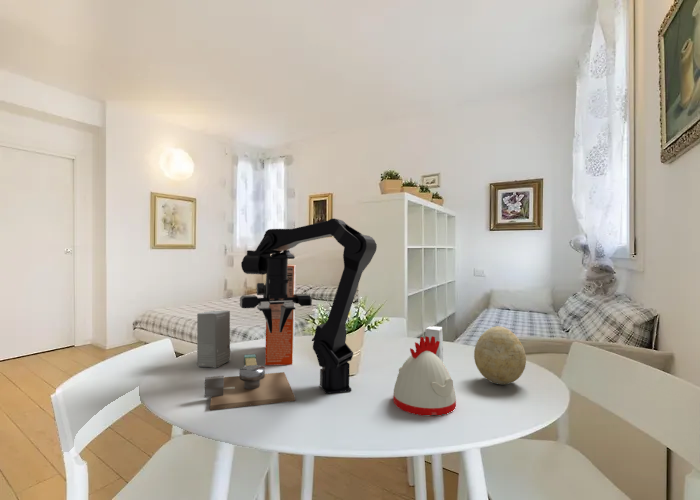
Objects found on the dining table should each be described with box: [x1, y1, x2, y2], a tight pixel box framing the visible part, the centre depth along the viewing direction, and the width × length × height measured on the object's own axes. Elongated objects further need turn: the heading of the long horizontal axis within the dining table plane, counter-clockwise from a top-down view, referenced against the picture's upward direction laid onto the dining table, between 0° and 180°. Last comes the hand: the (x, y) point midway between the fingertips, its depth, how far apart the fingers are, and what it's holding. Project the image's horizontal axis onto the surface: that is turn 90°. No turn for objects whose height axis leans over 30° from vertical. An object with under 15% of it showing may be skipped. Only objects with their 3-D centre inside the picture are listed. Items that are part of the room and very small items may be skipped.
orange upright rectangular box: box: [264, 264, 297, 366], centre depth 120 cm, size 23×8×30 cm, turn 7°
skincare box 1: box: [196, 310, 231, 369], centre depth 109 cm, size 8×7×16 cm
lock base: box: [203, 371, 296, 411], centre depth 88 cm, size 20×19×5 cm
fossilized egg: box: [473, 325, 527, 385], centre depth 96 cm, size 13×13×15 cm
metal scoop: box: [238, 353, 266, 381], centre depth 92 cm, size 16×6×2 cm, turn 18°
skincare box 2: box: [425, 325, 444, 363], centre depth 108 cm, size 6×4×12 cm
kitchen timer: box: [392, 335, 457, 416], centre depth 82 cm, size 14×14×15 cm
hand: (275, 332), depth 98 cm, fingers open, 2 cm apart
